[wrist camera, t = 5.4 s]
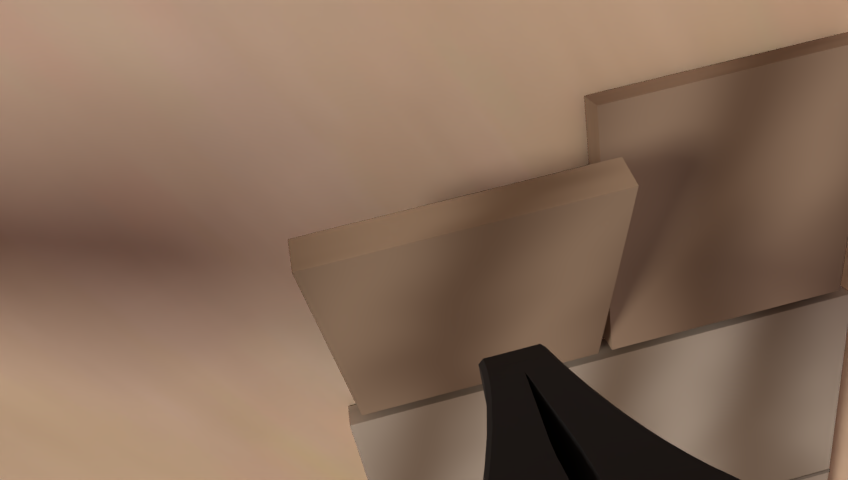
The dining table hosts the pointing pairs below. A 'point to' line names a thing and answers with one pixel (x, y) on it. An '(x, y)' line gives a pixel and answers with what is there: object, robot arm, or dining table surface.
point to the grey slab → (663, 400)
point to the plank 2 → (728, 187)
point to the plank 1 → (467, 282)
